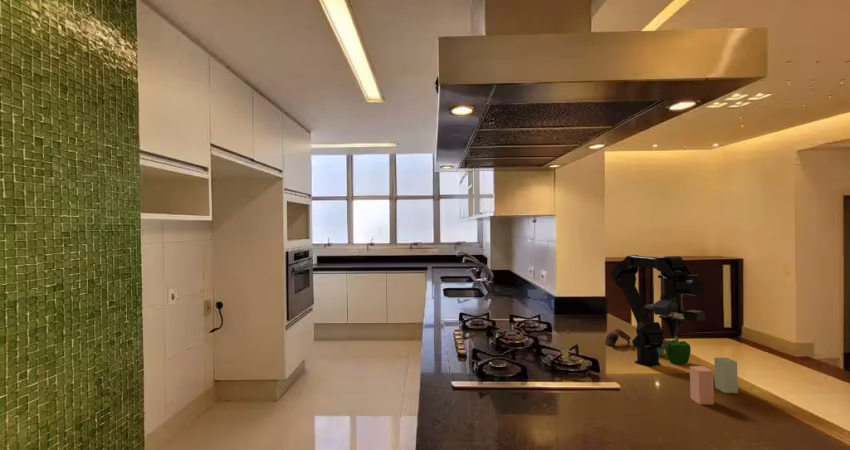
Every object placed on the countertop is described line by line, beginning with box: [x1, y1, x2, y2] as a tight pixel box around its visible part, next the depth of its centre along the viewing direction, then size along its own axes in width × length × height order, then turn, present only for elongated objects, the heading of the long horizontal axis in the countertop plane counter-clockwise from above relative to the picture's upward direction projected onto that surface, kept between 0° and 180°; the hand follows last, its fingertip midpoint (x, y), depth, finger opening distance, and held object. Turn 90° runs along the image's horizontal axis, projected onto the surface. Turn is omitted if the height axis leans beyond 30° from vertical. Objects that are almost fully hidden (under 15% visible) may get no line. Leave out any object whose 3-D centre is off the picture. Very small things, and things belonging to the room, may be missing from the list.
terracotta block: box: [689, 365, 715, 405], centre depth 123 cm, size 4×4×10 cm
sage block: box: [713, 357, 739, 394], centre depth 132 cm, size 4×4×10 cm
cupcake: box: [657, 338, 667, 356], centre depth 172 cm, size 9×8×12 cm
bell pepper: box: [664, 335, 691, 365], centre depth 160 cm, size 8×8×10 cm
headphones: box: [604, 327, 632, 348], centre depth 184 cm, size 12×10×8 cm
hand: (673, 336), depth 147 cm, fingers closed
